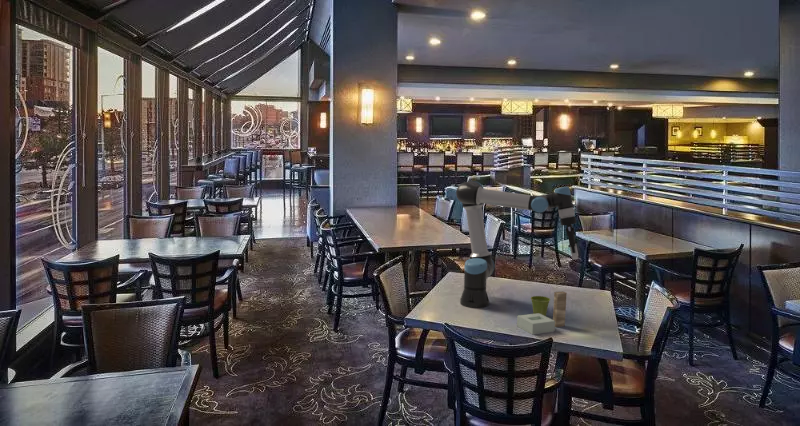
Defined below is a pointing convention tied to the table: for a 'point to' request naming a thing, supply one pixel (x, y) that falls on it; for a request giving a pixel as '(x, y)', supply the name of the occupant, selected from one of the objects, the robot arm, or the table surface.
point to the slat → (559, 308)
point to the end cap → (536, 323)
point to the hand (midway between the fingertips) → (575, 257)
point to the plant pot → (540, 304)
